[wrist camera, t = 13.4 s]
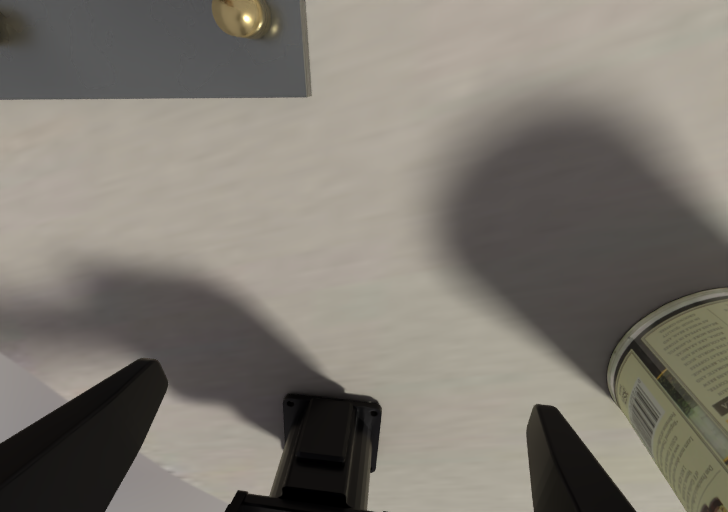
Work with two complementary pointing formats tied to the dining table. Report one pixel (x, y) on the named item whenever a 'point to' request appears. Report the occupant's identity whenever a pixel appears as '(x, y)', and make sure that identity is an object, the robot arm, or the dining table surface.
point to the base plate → (153, 49)
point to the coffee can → (680, 394)
